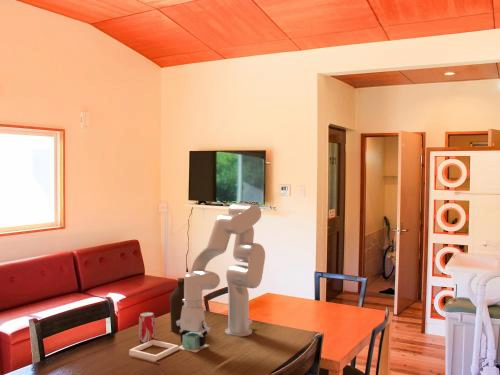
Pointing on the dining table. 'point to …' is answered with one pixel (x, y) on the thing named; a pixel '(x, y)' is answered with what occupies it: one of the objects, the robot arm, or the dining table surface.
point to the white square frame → (151, 357)
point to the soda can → (146, 327)
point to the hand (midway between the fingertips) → (192, 343)
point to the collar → (191, 341)
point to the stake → (196, 349)
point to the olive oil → (176, 305)
